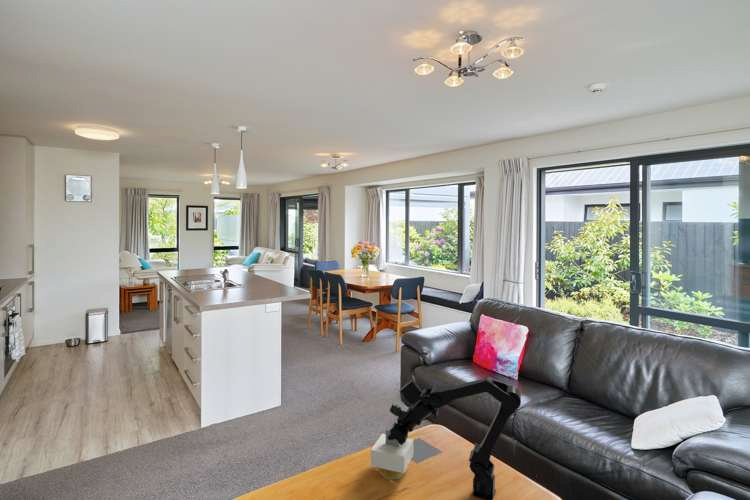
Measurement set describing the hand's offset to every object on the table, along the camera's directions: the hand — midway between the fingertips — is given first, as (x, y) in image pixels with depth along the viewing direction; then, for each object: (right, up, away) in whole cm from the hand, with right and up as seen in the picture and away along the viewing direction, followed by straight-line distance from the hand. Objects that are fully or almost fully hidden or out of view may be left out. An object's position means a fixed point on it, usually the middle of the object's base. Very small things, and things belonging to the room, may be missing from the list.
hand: (389, 437), depth 150 cm
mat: (+12, -13, +16) cm, 24 cm away
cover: (+1, -8, 0) cm, 9 cm away
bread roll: (+1, -14, 0) cm, 14 cm away
